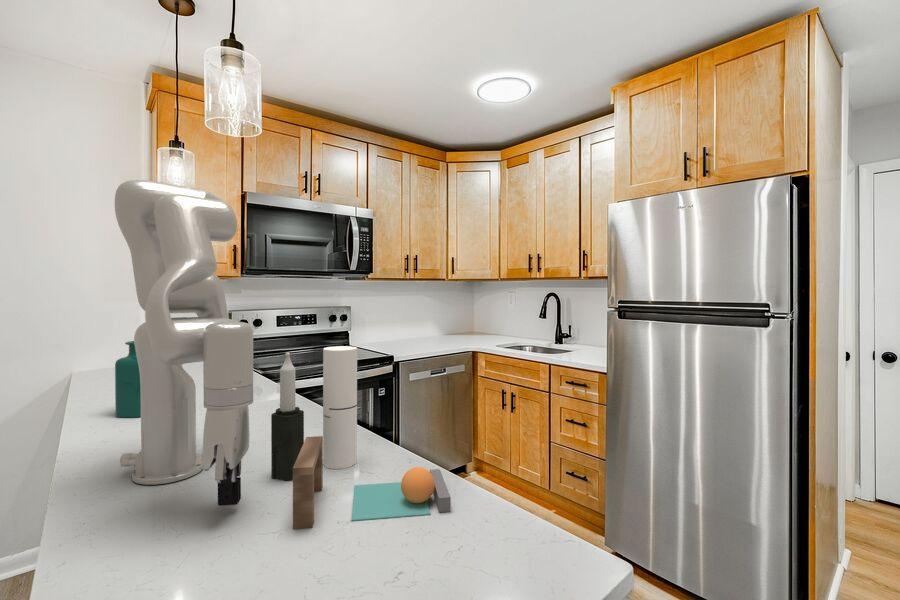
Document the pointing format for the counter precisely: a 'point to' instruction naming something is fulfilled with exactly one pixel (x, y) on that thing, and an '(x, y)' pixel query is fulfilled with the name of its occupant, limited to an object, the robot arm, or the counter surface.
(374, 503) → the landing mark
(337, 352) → the cylindrical container
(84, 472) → the counter surface
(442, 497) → the wall
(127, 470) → the counter surface
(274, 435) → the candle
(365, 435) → the counter surface
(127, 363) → the teal green bottle
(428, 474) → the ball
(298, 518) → the bridge
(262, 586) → the counter surface
